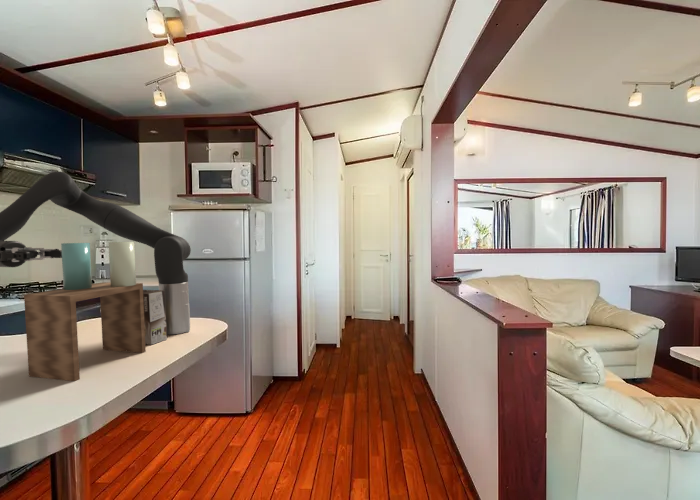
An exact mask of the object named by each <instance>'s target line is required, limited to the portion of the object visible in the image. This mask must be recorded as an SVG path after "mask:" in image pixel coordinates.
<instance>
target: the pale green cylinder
mask: <svg viewBox="0 0 700 500" xmlns="http://www.w3.org/2000/svg"><path fill="white" fill-rule="evenodd" d="M135 250H136V249H135V241H112V242H111V241H110V242H108V257H109V277H110V278H109V279H110V283H111V287H124V286H132V285H136V283H137V274H136V273H137V272H136V269H137V268H136V252H135Z"/></svg>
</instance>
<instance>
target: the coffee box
mask: <svg viewBox="0 0 700 500" xmlns="http://www.w3.org/2000/svg"><path fill="white" fill-rule="evenodd" d="M143 301H144V324H145V345H154V344H158V343H161V342H164V341H167V340H168V337H167V336H168V335H167V330H166V307H165V290H159V289H143Z"/></svg>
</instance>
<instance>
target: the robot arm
mask: <svg viewBox="0 0 700 500" xmlns="http://www.w3.org/2000/svg"><path fill="white" fill-rule="evenodd" d="M48 201H50V202H52V203H54V205H57V206H58V207H61V208H64V209H66V210H68V211H71V212H73V213H76V214H79V215H81V216H83V217H84V218H87V220H89V221H91V222H92V223H95V224H96V225H98V226H99V227H101V228H103V229H105V230H107V231H108V232H110V233H112V234H114V235H117V236H118V237H122V238H123V239H127V240H130V241H131V242H136V243H139V244H143V245H146V246H148V247H150V248H152V249H154V250H153V252H154V253H153V254H154V255H153V258H154V270H155V274H156V277H157V280H158V290H165V307H166V330H167V336H168V335H169V336H170V335H177V334H183V333H187V332H188V333H189V332H190V330H191V313H190V312H191V310H190V301H189V300H190V299H189V295H190V294H189V276H188V273H187V272H186V271H185V269H184V261H185V260H187V259H188V258H189V257H190V255H191V251H192V249H191V245H190V244H189V242H188V241H187V240H186V239H185V238H183V237H181V236H179V235H176V234H174V233H171V232H169V231H166V230H164V229H162V228H160V227H157V226H156V225H154V224H153V223H151V222H149V221H148V220H146V219H145V218H143V217H141V216H140V215H137V214H136V213H134V212H132V211H130V210H129V209H127V208H125V207H123V206H121V205H120V204H117V203H113V202H110V201H109V202H108V201H102V200H99V199H96V198H95V197H93V196H91V195H89V194H87V192H85V191H84V190H82V189H81V188H79V185H77V183H76V182H75V180H74V179H73V177H71V175H69V174H68V173H66V172H63V171H52V172H49V173H46V174H45V175H44V176H42V177H41V178H40V179H38V180H37V181H36V182H35V183H34V184H33V185H32V186H31V187H30V188H28V189H27V190H26V191H25V192H24V193H23V194H21V196H19V197H18V198H17V199H16V200H15V201H13V202H12V203H11V204H9V205H8V206H6V208H4V209H3V210H2V211H0V268H17V267H21V266H22V265H24V264H25V263H26V262H31V261H43V260H45V259H62V250H61V249H59V248H44V247H32V246H27V247H26V245H25V244H24V243H22V242H20V241H17V240H8V239H9V238H10V237H12V236H13V235H15V234H17V233H18V232H19V231H21V229H23V228H24V226H25V225H26V224H27V223H28V221H29V220H30V218H31V217H32V215H33V214H34V213H35V211H37V209H38V208H39V207H41V206H42V205H43V204H45V203H46V202H48ZM38 256H39V257H38Z"/></svg>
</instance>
